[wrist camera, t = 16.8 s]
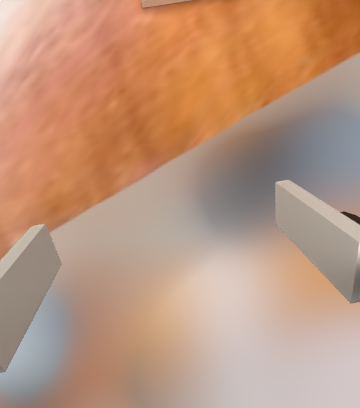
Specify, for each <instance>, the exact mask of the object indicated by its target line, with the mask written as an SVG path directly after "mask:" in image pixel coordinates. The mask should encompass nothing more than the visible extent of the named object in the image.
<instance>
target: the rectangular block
mask: <svg viewBox="0 0 360 408" xmlns="http://www.w3.org/2000/svg"><path fill="white" fill-rule="evenodd" d="M184 1H190V0H141V3H142V8H146V7H152V6H158V5H165V4H171V3H178V2H184Z"/></svg>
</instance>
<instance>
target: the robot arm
mask: <svg viewBox="0 0 360 408" xmlns="http://www.w3.org/2000/svg"><path fill="white" fill-rule="evenodd" d="M275 190H276V191H275V192H276V225H277V226H278V227H279V228H280V229H281V230H282V231H283V233H284V234H285V235H286V236H287V237H288V238H289V239H290V240H291V241H292V242H293V243H294V244H295V245H296V246H297V247H298V248H299V249H300V250H301V251H302V253H303V254H304V255H305V256H306V257H307V258H308V259H309V260H310V261H311V262H312V263H313V264H314V265H315V266H316V267H317V268H318V269H319V271H320V272H321V273H322V274H323V275H324V276H325V277H326V278H327V279H328V280H329V281H330V282H331V283H332V284H333V285H334V286H335V287H336V288H337V289H338V291H339V292H340V293H341V294H342V295H343V296H344V297H345V298H346V299H347V300H348V301H349V302H350V303H356V302H360V217H358V216H356V215H353V214H350V213H347V212H339V211H337V210H335V209H334V208H332V207H331V206H329V205H328V204H326V203H324V202H323V201H321V200H320V199H318V198H317V197H315V196H313V195H312V194H310V193H309V192H307V191H305V190H304V189H302V188H300V187H299V186H298V185H296V184H294V183H293V182H291V181H290V180H285V181H279V182H275ZM60 266H61V261H60V259H59V256H58V254H57V251H56V249H55V246H54V244H53V241H52V239H51V236H50V234H49V231H48V229H47V226H46V224H40V225H34V226H31V227H30V228H29V229H28V231H27V232H26V233H25V234H24V235H23V236H22V237H21V238H20V239H19V241H18V242H17V243H16V244H15V245H14V246H13V247H12V248H11V249H10V251H9V252H8V253H7V254H6V255H5V256H4V257H3V258H2V259H1V261H0V373H1V372H5V371H6V370H7V368H8V366H9V364H10V362H11V360H12V358H13V356H14V354H15V352H16V350H17V348H18V347H19V345H20V343H21V341H22V339H23V337H24V335H25V333H26V331H27V329H28V327H29V326H30V324H31V322H32V320H33V318H34V316H35V314H36V312H37V310H38V308H39V306H40V305H41V303H42V301H43V299H44V297H45V295H46V293H47V291H48V289H49V287H50V285H51V284H52V282H53V280H54V278H55V276H56V274H57V272H58V270H59V268H60Z"/></svg>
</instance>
